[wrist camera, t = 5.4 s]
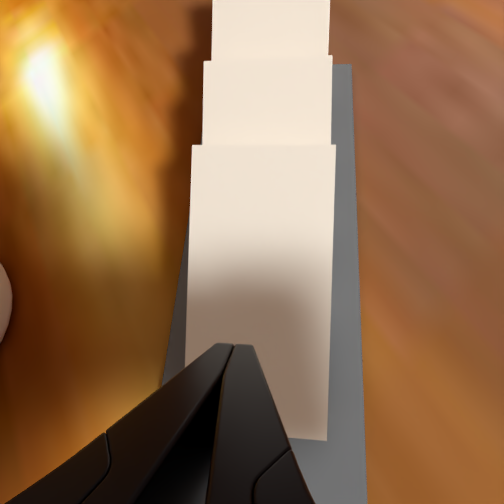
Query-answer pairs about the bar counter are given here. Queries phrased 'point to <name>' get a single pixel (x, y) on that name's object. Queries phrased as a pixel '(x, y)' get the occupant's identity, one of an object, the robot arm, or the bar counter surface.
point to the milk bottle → (4, 302)
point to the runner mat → (341, 330)
